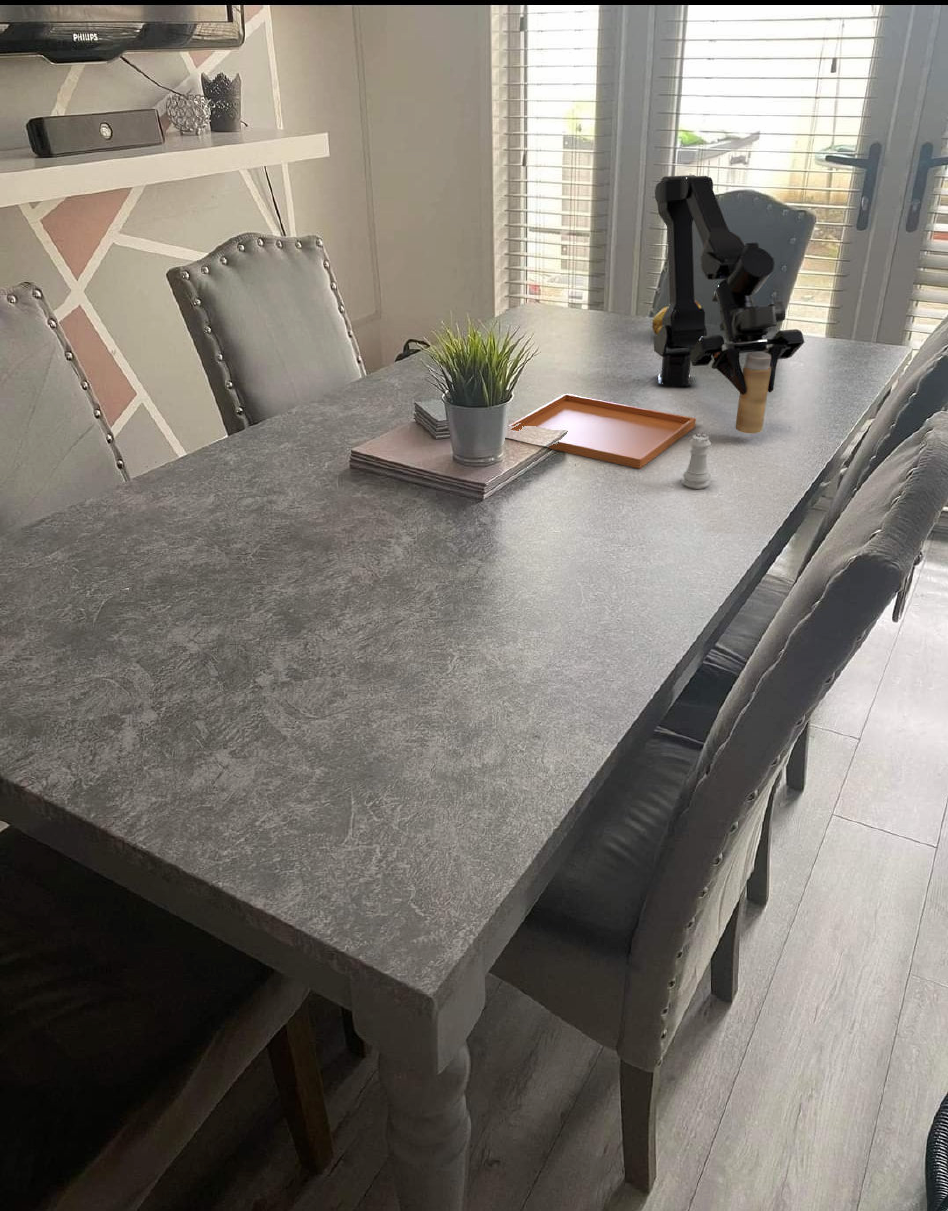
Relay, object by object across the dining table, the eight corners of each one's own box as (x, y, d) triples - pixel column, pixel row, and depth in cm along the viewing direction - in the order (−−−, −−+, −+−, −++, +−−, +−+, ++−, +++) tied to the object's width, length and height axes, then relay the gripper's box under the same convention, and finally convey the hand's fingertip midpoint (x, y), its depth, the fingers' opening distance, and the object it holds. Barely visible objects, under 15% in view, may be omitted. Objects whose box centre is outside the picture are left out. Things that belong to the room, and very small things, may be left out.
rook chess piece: (708, 478, 155) (713, 431, 151) (711, 490, 151) (717, 442, 147) (680, 478, 156) (685, 431, 151) (682, 489, 152) (687, 441, 148)
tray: (564, 401, 189) (565, 393, 188) (695, 426, 176) (696, 418, 175) (501, 437, 172) (501, 429, 172) (640, 468, 159) (640, 459, 158)
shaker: (734, 423, 171) (744, 350, 164) (761, 424, 170) (772, 351, 163) (735, 432, 167) (745, 358, 160) (762, 434, 166) (774, 359, 159)
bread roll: (677, 346, 219) (681, 310, 215) (639, 340, 224) (642, 305, 220) (701, 333, 228) (705, 299, 224) (664, 327, 233) (667, 293, 229)
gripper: (704, 287, 158) (725, 374, 154) (808, 280, 161) (831, 365, 158) (680, 323, 169) (699, 405, 165) (779, 316, 172) (799, 396, 168)
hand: (757, 392), depth 164 cm, fingers closed on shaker, 4 cm apart
